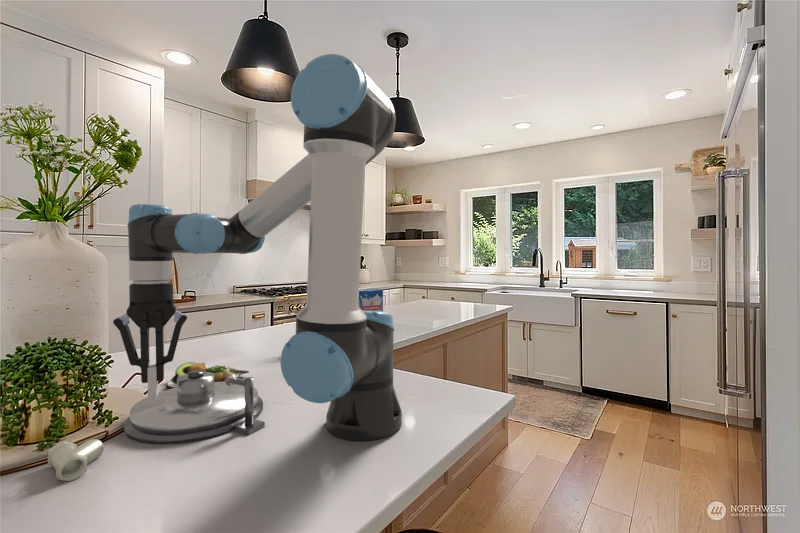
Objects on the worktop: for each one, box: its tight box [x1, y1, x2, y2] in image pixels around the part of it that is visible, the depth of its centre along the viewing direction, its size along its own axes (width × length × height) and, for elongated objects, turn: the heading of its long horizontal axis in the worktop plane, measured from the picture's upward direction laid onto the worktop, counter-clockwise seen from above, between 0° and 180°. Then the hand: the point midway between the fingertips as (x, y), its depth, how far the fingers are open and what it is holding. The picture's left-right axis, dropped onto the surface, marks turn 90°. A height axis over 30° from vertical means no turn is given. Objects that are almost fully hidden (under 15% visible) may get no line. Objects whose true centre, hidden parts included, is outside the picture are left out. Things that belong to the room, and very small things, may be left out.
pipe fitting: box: [47, 438, 105, 482], centre depth 64 cm, size 8×4×7 cm
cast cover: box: [177, 370, 214, 406], centre depth 84 cm, size 7×7×6 cm
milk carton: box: [358, 288, 384, 311], centre depth 160 cm, size 10×6×20 cm, turn 119°
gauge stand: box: [225, 373, 266, 436], centre depth 79 cm, size 8×4×10 cm, turn 64°
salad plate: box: [166, 361, 250, 390], centre depth 108 cm, size 19×18×5 cm
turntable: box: [129, 362, 259, 435], centre depth 84 cm, size 24×24×7 cm
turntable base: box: [123, 395, 264, 445], centre depth 85 cm, size 26×26×1 cm
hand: (153, 397), depth 81 cm, fingers closed
